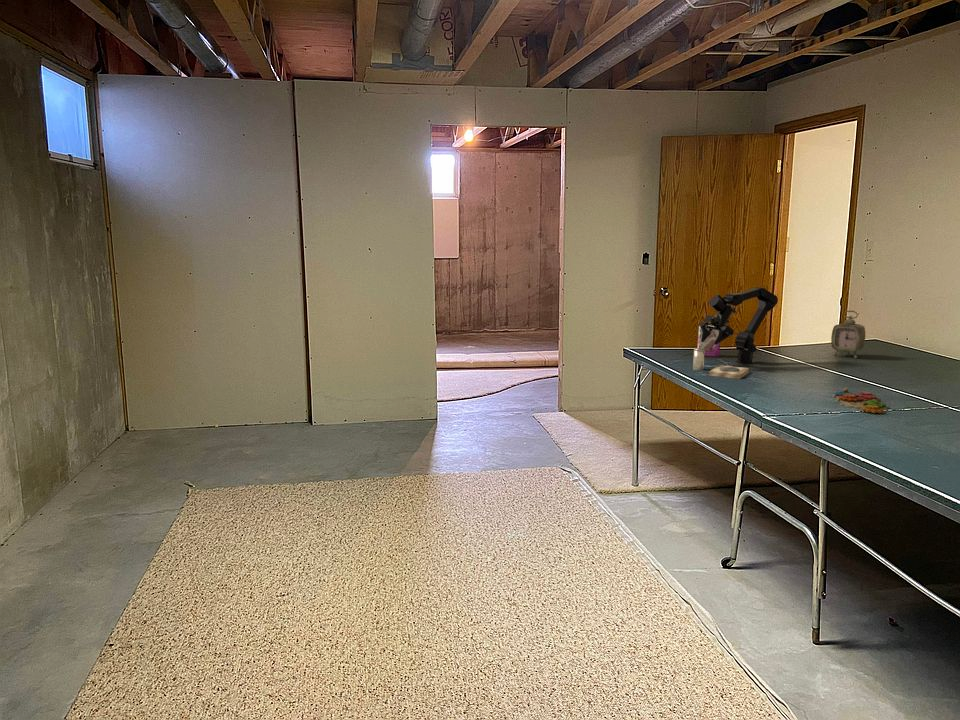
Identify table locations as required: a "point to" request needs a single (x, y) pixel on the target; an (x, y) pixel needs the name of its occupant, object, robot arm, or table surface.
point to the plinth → (729, 372)
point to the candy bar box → (709, 343)
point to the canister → (698, 359)
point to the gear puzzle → (860, 401)
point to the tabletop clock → (848, 336)
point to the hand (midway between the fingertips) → (708, 343)
